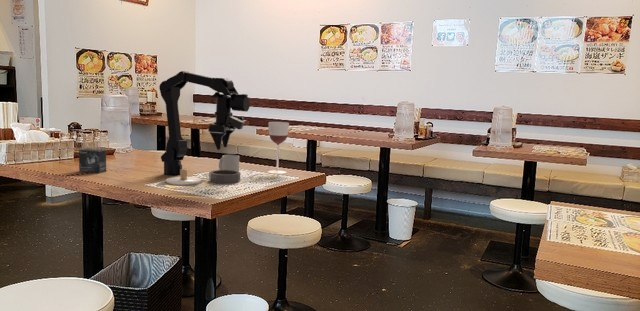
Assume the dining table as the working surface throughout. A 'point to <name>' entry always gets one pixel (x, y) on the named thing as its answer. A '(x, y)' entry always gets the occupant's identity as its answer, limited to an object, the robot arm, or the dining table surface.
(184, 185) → the mat
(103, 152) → the box
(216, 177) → the bowl
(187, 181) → the lid
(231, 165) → the cup
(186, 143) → the robot arm
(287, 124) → the wineglass
